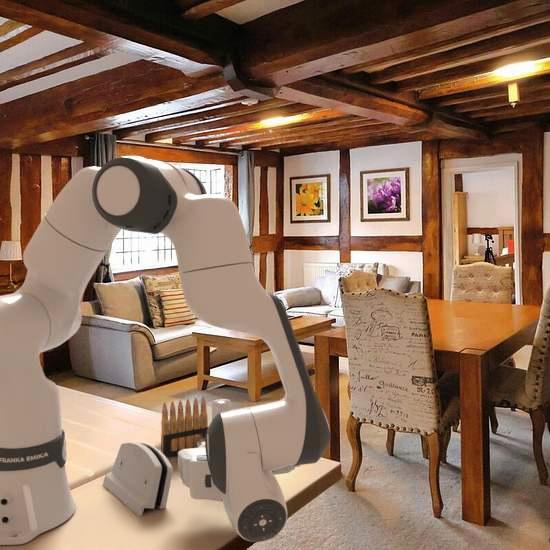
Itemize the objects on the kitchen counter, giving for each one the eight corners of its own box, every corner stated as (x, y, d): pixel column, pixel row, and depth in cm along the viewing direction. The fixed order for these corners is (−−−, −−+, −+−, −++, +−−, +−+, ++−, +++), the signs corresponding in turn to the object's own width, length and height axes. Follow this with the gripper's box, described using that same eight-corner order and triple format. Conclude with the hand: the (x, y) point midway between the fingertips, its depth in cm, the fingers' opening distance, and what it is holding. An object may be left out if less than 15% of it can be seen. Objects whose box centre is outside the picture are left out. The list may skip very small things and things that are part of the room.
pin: (213, 462, 117) (213, 405, 116) (211, 455, 121) (210, 399, 120) (233, 460, 118) (232, 404, 117) (230, 453, 122) (229, 398, 121)
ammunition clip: (163, 458, 123) (161, 404, 122) (160, 455, 124) (158, 402, 123) (210, 449, 128) (208, 396, 127) (207, 446, 129) (205, 394, 128)
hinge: (101, 483, 111) (116, 432, 112) (123, 484, 114) (137, 435, 115) (140, 517, 98) (156, 459, 100) (163, 517, 101) (179, 461, 102)
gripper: (303, 448, 96) (283, 421, 109) (180, 462, 91) (175, 431, 105) (304, 484, 96) (284, 453, 110) (181, 500, 92) (176, 465, 105)
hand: (230, 442), depth 107 cm, fingers open, 8 cm apart
